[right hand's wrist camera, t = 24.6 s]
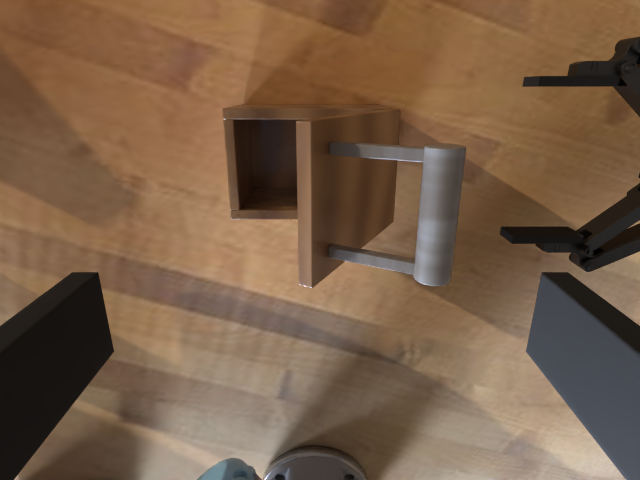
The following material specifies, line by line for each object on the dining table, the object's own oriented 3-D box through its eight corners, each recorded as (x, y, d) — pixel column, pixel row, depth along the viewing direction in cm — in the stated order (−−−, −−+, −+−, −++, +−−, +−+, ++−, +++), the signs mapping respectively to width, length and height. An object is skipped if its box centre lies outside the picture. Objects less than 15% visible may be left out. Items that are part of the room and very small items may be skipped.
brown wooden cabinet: (248, 194, 46) (230, 219, 37) (242, 104, 43) (222, 108, 34) (374, 194, 46) (387, 219, 37) (378, 104, 43) (394, 108, 34)
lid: (298, 285, 25) (438, 319, 21) (295, 120, 22) (459, 127, 18) (383, 220, 37) (481, 235, 33) (389, 108, 34) (499, 111, 30)
